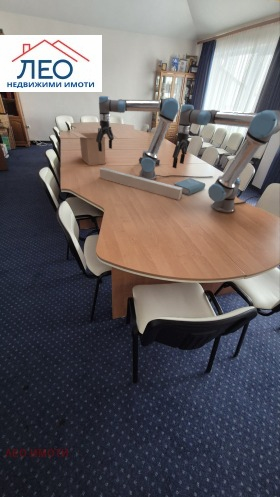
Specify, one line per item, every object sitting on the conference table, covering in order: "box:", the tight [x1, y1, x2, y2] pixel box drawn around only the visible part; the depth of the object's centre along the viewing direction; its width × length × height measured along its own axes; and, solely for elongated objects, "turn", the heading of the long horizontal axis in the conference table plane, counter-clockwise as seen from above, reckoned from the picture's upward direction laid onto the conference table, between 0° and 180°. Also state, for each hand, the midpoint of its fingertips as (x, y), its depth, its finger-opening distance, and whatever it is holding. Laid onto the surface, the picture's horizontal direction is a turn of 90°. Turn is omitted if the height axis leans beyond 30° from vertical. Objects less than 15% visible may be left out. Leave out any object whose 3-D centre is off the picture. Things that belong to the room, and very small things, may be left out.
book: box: [173, 177, 206, 196], centre depth 186 cm, size 23×16×5 cm
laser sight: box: [138, 156, 161, 166], centre depth 237 cm, size 10×22×10 cm, turn 78°
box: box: [70, 129, 108, 166], centre depth 229 cm, size 44×36×27 cm
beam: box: [99, 167, 183, 201], centre depth 182 cm, size 76×5×8 cm, turn 60°
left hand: (105, 149), depth 182 cm, fingers open, 13 cm apart
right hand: (178, 165), depth 158 cm, fingers open, 13 cm apart
